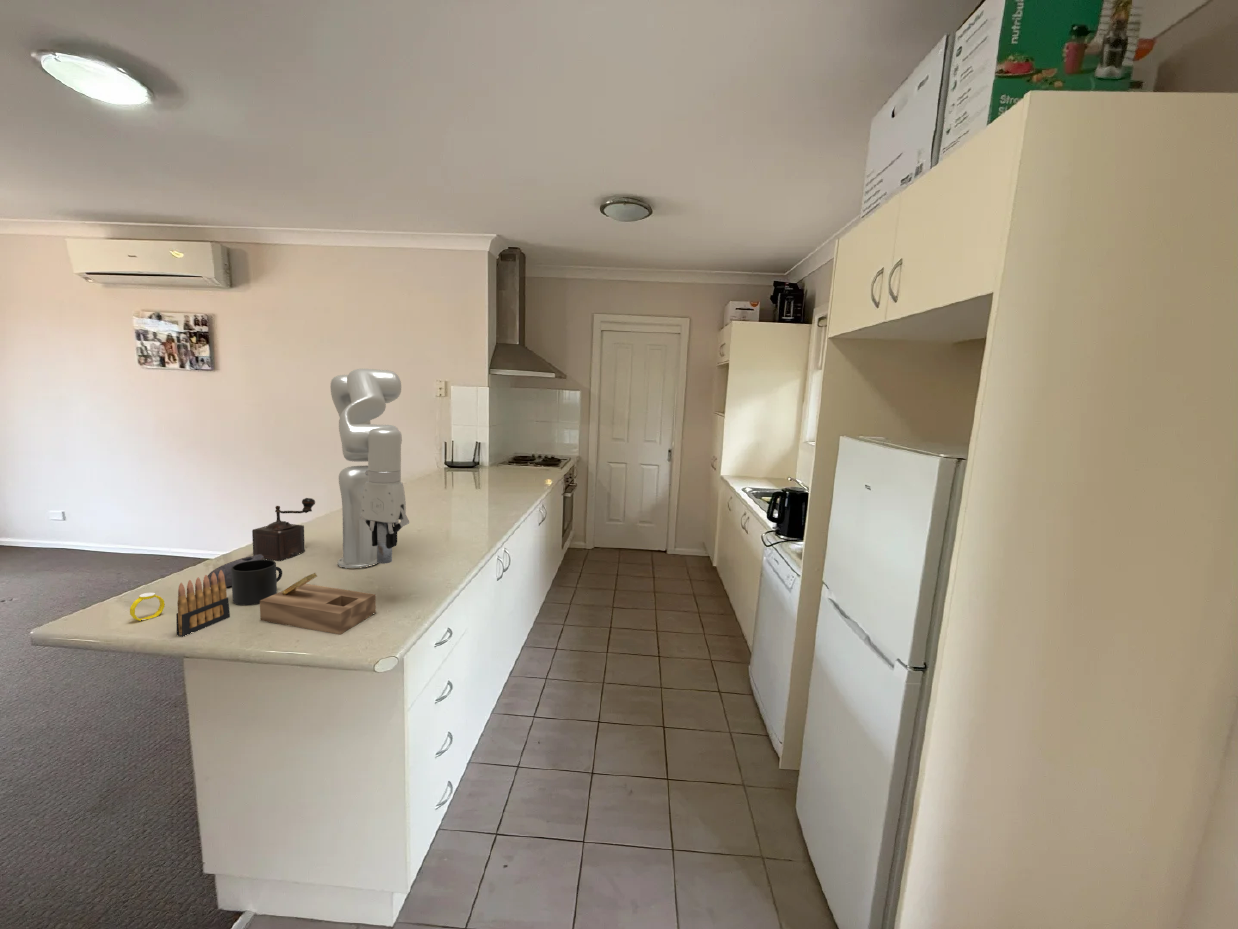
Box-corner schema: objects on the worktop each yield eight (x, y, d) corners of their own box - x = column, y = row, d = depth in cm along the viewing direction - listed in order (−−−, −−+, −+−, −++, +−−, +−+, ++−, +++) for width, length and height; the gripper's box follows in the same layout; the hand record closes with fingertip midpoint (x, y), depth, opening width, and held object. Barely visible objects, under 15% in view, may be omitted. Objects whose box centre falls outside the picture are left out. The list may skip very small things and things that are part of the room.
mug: (294, 592, 136) (293, 560, 135) (248, 608, 125) (247, 574, 124) (270, 586, 139) (269, 554, 138) (223, 601, 128) (222, 567, 127)
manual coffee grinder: (281, 561, 158) (279, 506, 156) (251, 557, 160) (249, 503, 158) (319, 548, 173) (318, 497, 171) (291, 544, 175) (290, 494, 173)
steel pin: (383, 558, 133) (383, 517, 131) (395, 560, 132) (395, 519, 130) (373, 562, 129) (373, 521, 127) (386, 564, 128) (386, 523, 127)
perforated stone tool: (211, 594, 132) (209, 569, 131) (200, 590, 134) (199, 565, 133) (271, 578, 145) (271, 555, 144) (261, 574, 147) (260, 551, 147)
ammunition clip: (224, 616, 120) (221, 568, 119) (230, 617, 120) (228, 569, 119) (176, 635, 110) (173, 583, 109) (182, 637, 110) (179, 584, 108)
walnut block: (301, 601, 131) (301, 583, 130) (375, 613, 126) (375, 594, 126) (260, 620, 119) (259, 600, 118) (340, 634, 115) (339, 613, 114)
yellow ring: (159, 614, 120) (160, 589, 120) (166, 616, 119) (167, 592, 119) (127, 622, 115) (128, 596, 114) (134, 624, 114) (135, 599, 113)
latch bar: (294, 590, 125) (292, 587, 125) (317, 576, 123) (315, 572, 123) (283, 595, 122) (281, 592, 122) (307, 580, 120) (304, 577, 120)
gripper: (345, 475, 125) (346, 546, 128) (404, 482, 122) (403, 554, 125) (366, 471, 132) (366, 537, 135) (422, 478, 129) (421, 546, 132)
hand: (384, 545), depth 130 cm, fingers closed on steel pin, 3 cm apart
